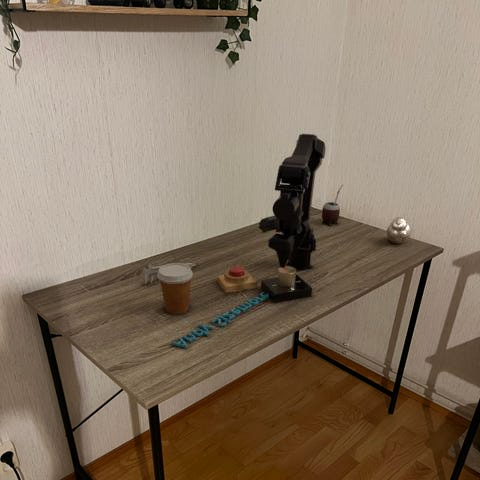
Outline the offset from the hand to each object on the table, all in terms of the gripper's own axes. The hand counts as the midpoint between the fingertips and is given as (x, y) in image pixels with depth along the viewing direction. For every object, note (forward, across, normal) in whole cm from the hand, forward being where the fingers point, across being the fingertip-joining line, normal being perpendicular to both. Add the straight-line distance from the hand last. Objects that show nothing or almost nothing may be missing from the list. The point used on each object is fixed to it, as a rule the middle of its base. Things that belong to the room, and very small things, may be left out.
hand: (287, 261), depth 142 cm
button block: (+10, +1, -16) cm, 19 cm away
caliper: (+10, +3, -38) cm, 39 cm away
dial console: (+10, 0, 0) cm, 10 cm away
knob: (+7, 0, 0) cm, 7 cm away
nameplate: (+10, +22, -10) cm, 26 cm away
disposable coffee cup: (+10, +22, -25) cm, 35 cm away
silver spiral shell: (+10, -56, +25) cm, 62 cm away
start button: (+7, +1, -16) cm, 17 cm away
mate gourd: (+10, -67, -4) cm, 68 cm away
